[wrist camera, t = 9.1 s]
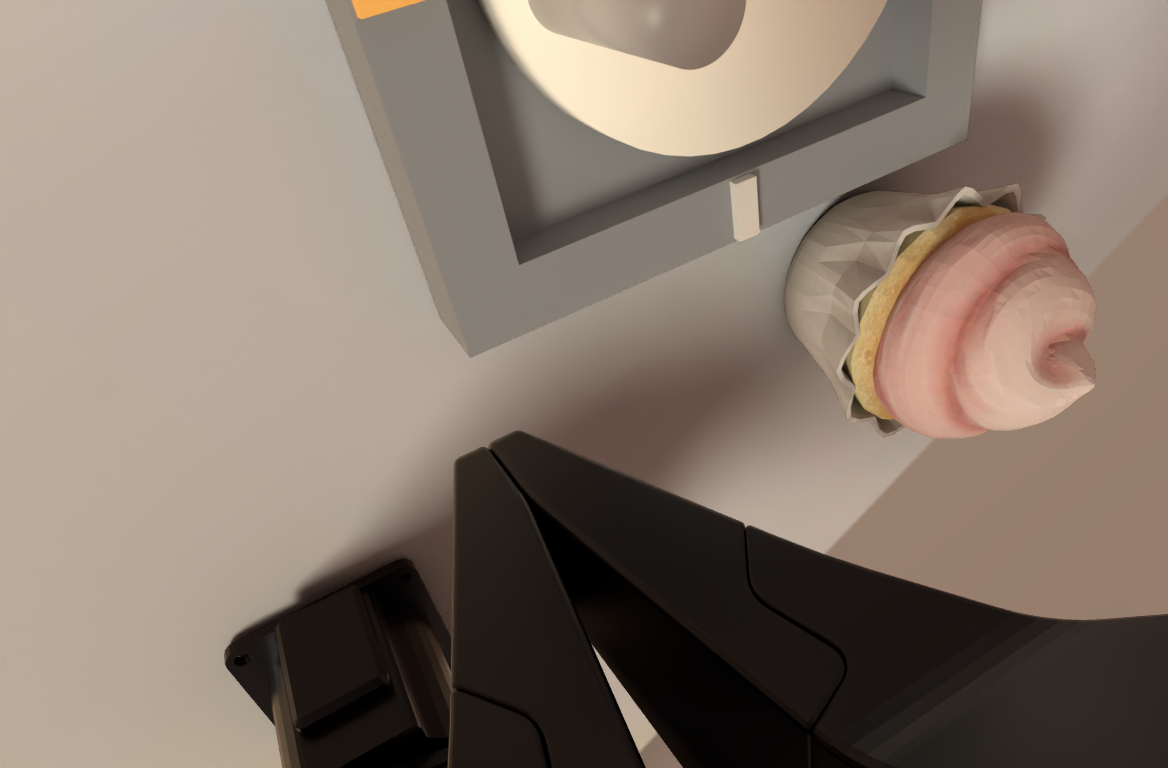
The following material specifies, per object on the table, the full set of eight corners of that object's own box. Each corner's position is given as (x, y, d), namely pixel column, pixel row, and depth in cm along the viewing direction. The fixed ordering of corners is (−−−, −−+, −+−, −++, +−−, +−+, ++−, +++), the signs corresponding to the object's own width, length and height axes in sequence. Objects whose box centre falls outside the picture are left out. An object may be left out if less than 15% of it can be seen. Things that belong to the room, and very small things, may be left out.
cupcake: (950, 113, 28) (1255, 187, 20) (922, 327, 33) (1155, 449, 26) (741, 189, 25) (1002, 307, 18) (748, 409, 31) (950, 572, 23)
